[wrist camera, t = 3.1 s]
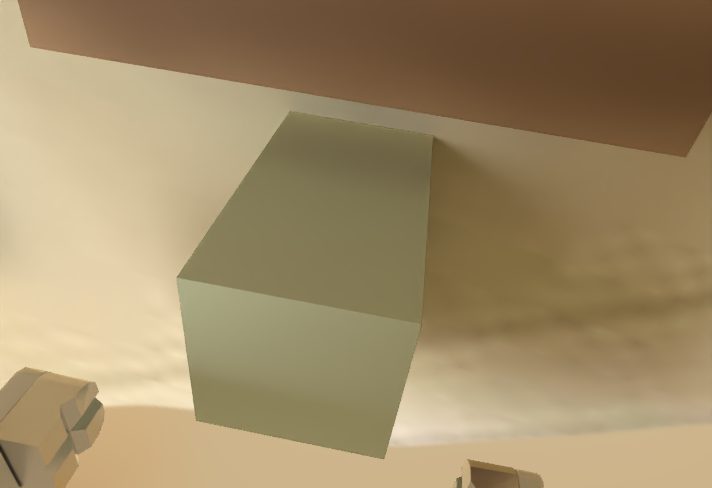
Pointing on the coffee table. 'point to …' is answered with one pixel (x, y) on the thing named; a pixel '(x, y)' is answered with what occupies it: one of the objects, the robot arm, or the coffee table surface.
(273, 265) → the sage plug
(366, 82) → the walnut stand
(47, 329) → the coffee table surface
